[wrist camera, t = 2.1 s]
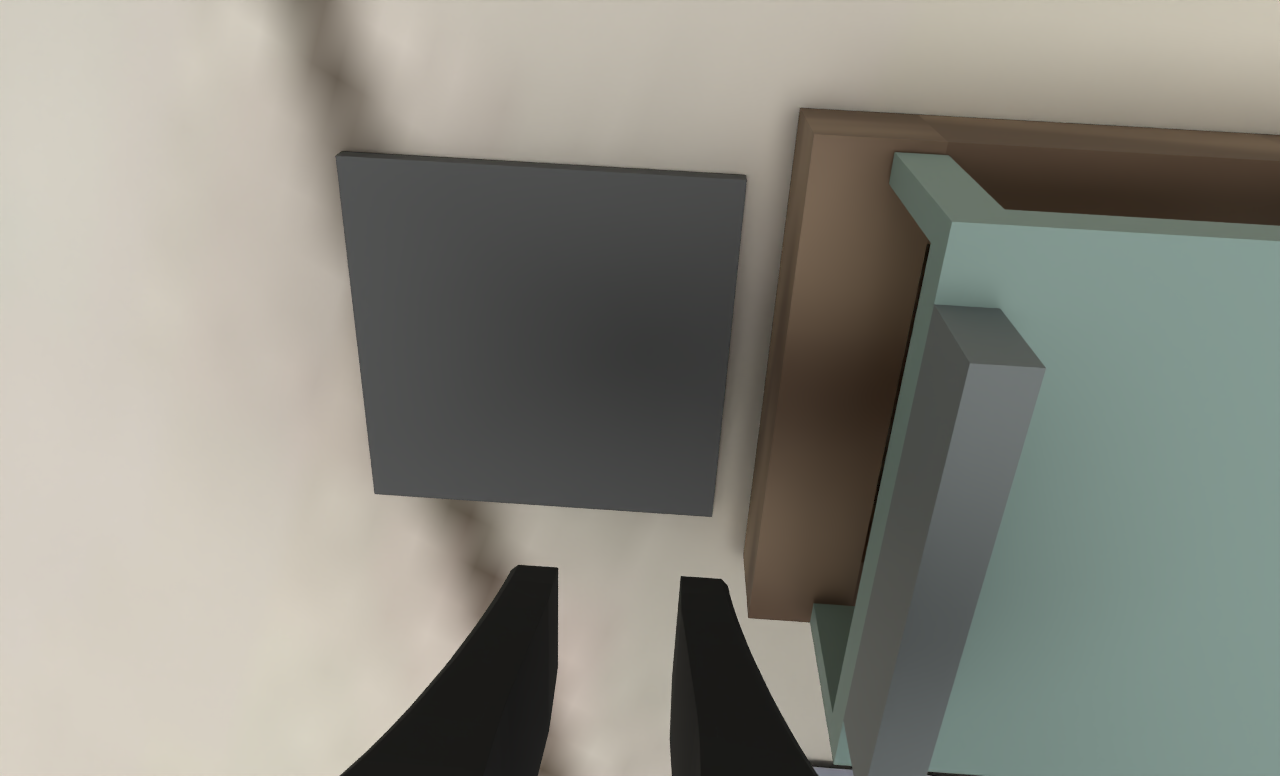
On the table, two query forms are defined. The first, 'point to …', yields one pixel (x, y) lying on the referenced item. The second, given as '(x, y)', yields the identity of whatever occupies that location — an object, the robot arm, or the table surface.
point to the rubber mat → (542, 328)
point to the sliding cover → (1071, 503)
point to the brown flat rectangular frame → (886, 291)
